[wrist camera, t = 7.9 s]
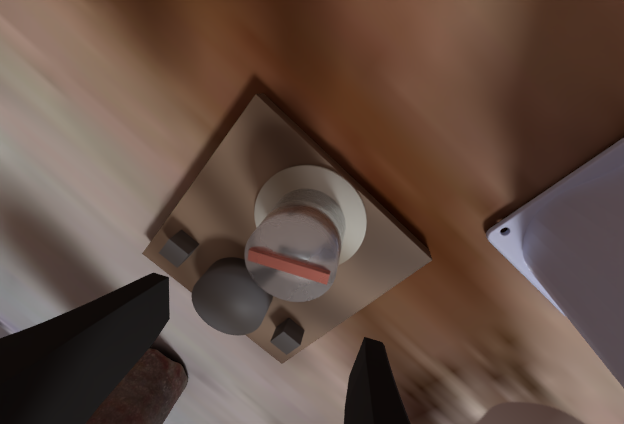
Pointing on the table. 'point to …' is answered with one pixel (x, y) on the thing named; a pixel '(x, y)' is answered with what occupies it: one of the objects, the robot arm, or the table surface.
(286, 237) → the knob
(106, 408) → the candle
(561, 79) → the table surface
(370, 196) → the base board
